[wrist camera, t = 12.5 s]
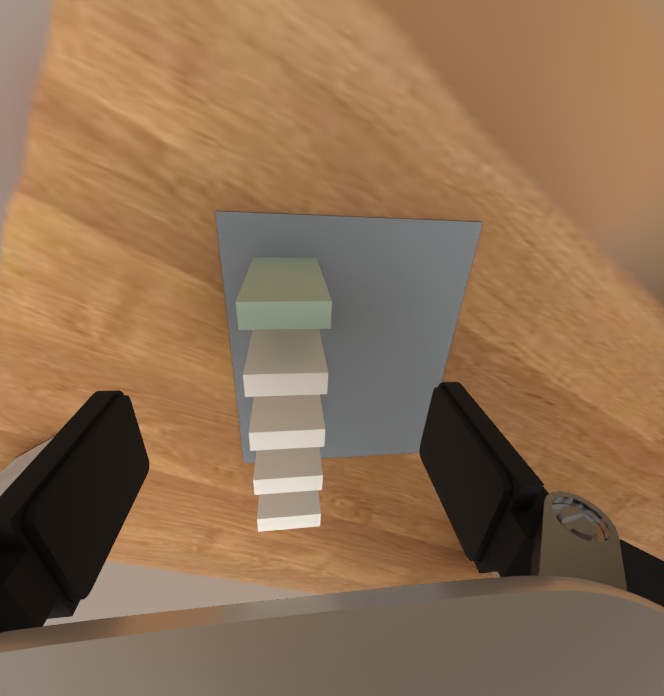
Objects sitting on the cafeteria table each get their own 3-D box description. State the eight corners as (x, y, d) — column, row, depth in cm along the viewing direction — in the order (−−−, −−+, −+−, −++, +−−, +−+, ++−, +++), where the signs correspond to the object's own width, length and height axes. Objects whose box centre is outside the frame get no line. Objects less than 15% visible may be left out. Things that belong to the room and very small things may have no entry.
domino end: (316, 277, 26) (330, 328, 18) (254, 277, 26) (238, 330, 17) (316, 257, 26) (332, 301, 17) (253, 257, 25) (235, 301, 16)
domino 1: (314, 326, 29) (327, 394, 20) (257, 327, 28) (245, 397, 19) (315, 310, 28) (328, 372, 19) (256, 310, 27) (242, 374, 18)
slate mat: (421, 449, 39) (423, 452, 38) (244, 460, 36) (244, 463, 36) (480, 221, 26) (482, 222, 26) (216, 210, 24) (215, 211, 23)
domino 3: (312, 406, 33) (322, 489, 24) (263, 407, 32) (254, 495, 24) (313, 393, 32) (322, 475, 23) (262, 395, 31) (253, 480, 23)
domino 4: (311, 438, 35) (320, 526, 26) (265, 440, 34) (258, 531, 26) (312, 427, 34) (320, 513, 26) (264, 429, 34) (256, 519, 25)
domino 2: (313, 369, 31) (324, 446, 22) (260, 370, 30) (250, 450, 21) (314, 354, 30) (325, 429, 21) (259, 355, 29) (248, 432, 21)
